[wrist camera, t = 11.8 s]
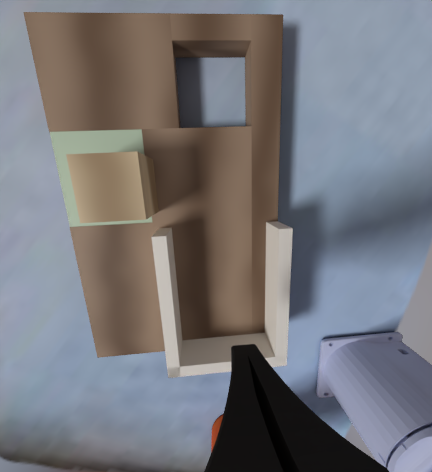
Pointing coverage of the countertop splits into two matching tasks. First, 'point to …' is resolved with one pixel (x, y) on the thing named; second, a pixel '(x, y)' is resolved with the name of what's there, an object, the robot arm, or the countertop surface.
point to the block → (113, 186)
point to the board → (170, 166)
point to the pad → (91, 144)
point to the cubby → (219, 348)
